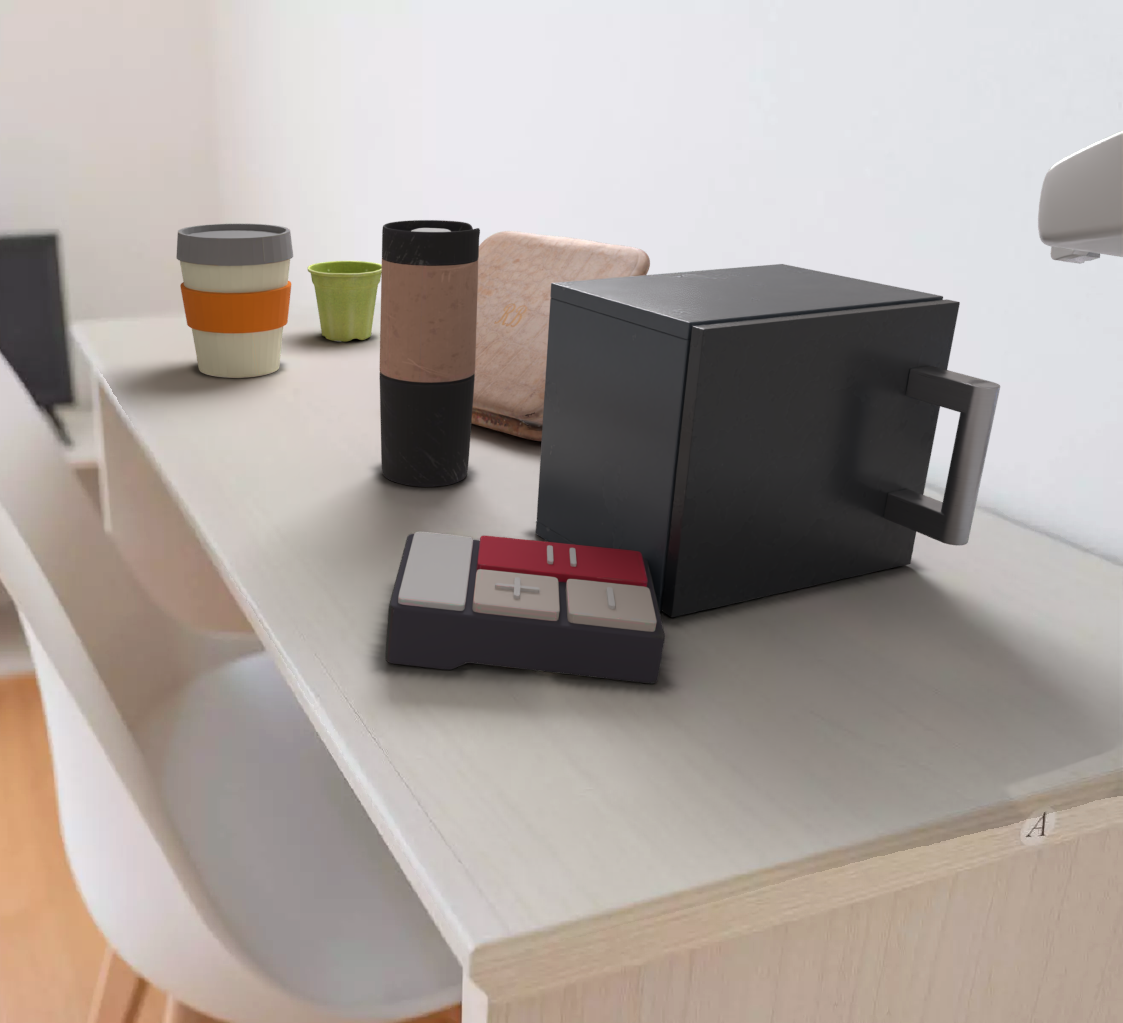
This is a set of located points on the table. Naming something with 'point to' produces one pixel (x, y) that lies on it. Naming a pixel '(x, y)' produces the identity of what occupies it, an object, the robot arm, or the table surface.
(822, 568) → the dark grey door
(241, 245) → the reusable coffee cup
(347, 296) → the plant pot
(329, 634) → the table surface
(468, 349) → the travel mug
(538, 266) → the case
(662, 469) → the dark grey cabinet
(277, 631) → the table surface
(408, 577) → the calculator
